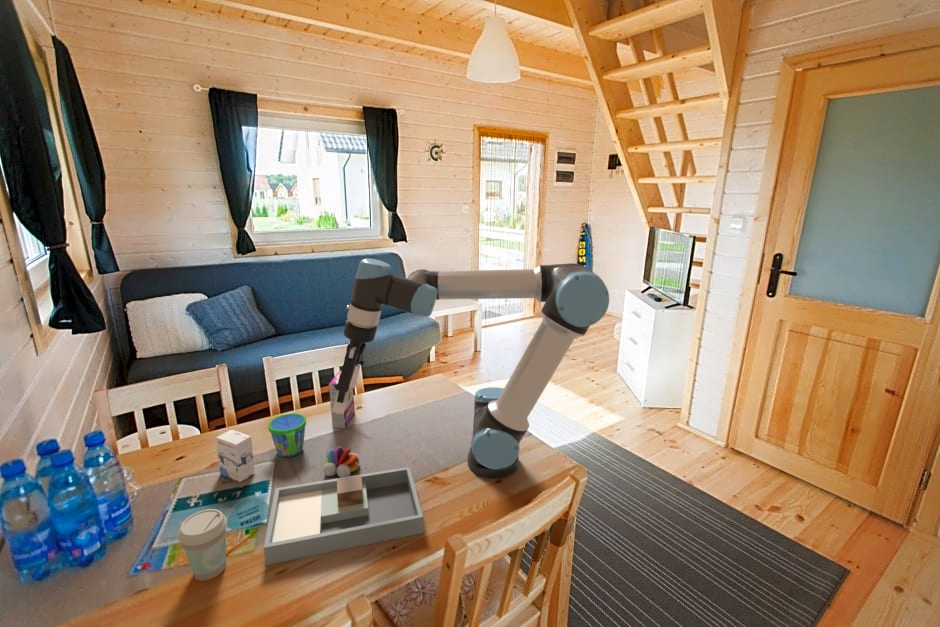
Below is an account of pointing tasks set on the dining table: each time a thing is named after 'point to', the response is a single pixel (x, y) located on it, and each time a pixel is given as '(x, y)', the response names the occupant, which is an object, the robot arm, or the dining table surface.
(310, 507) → the box
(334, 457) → the rainbow wheeled toy
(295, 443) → the snack cup
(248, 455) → the ink box
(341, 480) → the walnut block
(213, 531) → the coffee cup
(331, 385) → the candy bar box
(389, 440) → the dining table surface
